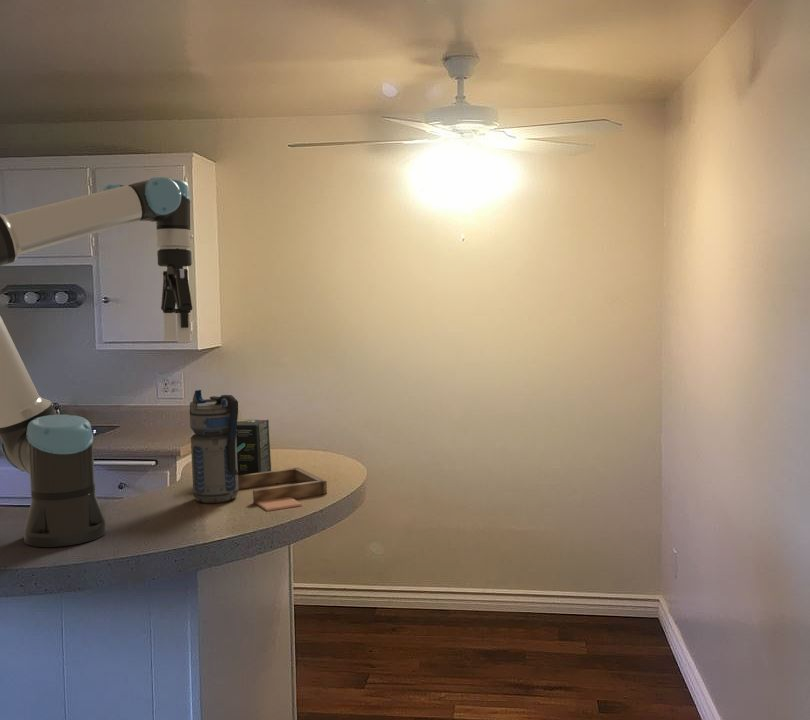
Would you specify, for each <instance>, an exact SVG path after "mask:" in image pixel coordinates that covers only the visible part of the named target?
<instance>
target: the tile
mask: <svg viewBox="0 0 810 720" xmlns="http://www.w3.org/2000/svg"><path fill="white" fill-rule="evenodd" d="M256 505H257V506H259V507H260V508H261V509H263V510H265V511H266V512H269V511H270V512H271V511H276V510H283V509H288V508H289V509H291V508H295V507H302V506H303V503H302V502H300V501H298V500H296V498H294V499H293V498H291V497H286V498H280V499H273V500H266V501H259V502H257V504H256Z"/></svg>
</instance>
